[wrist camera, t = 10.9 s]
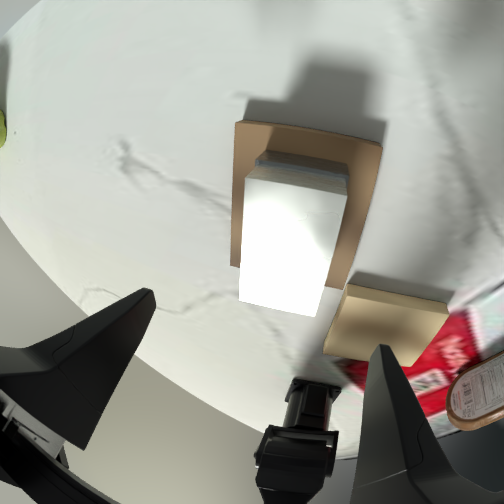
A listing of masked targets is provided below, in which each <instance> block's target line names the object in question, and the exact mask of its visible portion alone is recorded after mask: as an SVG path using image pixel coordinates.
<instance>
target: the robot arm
mask: <svg viewBox="0 0 504 504" xmlns="http://www.w3.org/2000/svg"><path fill="white" fill-rule="evenodd" d="M155 309H156V301H155V297H154V292H153V291H152V290H151V289H148V288H141V289H139V290H138V291H136V292H134V293H132V294H130V295H128V296H126V297H125V298H123V299H121V300H119V301H117V302H115V303H113V304H112V305H110V306H108V307H106V308H104V309H102V310H101V311H99V312H97V313H95V314H93V315H91V316H90V317H88V318H86V319H84V320H83V321H81V322H79V323H77V324H76V325H73V326H71V327H70V328H68V329H66V330H64V331H62V332H60V333H58V334H56V335H54V336H52V337H50V338H48V339H45V340H43V341H41V342H39V343H36V344H34V345H32V346H29V347H26V348H10V347H3V346H0V480H1V481H3V482H6V483H8V484H11V485H13V486H16V487H19V488H21V489H23V491H24V492H26V494H28V495H29V496H30V497H31V498H32V499H33V500H34V501H35V502H36V503H37V504H120V503H118V502H116V501H115V500H113V499H111V498H110V497H108V496H106V495H104V494H103V493H101V492H100V491H98V490H97V489H95V488H93V487H92V486H91V485H89V484H88V483H86V482H85V481H83V480H82V479H80V478H79V477H78V476H76V475H75V474H73V473H72V472H71V471H69V470H68V469H69V466H68V462H67V458H66V454H65V450H64V446H63V444H64V442H65V441H66V440H67V441H68V442H70V443H71V444H73V445H75V446H77V447H78V448H80V449H81V450H83V451H84V450H85V448H86V446H87V444H88V442H89V440H90V438H91V436H92V434H93V432H94V430H95V428H96V425H97V424H98V422H99V419H100V418H101V416H102V413H103V411H104V409H105V407H106V405H107V404H108V402H109V400H110V398H111V396H112V394H113V392H114V390H115V388H116V386H117V384H118V382H119V381H120V379H121V377H122V375H123V373H124V371H125V369H126V367H127V366H128V364H129V362H130V360H131V358H132V356H133V355H134V353H135V351H136V350H137V348H138V346H139V344H140V342H141V341H142V339H143V336H144V334H145V332H146V330H147V327H148V325H149V323H150V320H151V318H152V316H153V314H154V311H155ZM341 390H342V389H341V388H340V387H335V386H329V385H323V384H317V383H312V382H307V381H301V380H296V379H294V380H292V383H291V385H290V388H289V390H288V392H287V395H286V397H285V402H288V407H287V411H286V415H285V419H284V423H283V427H279V426H274V425H270V424H269V426H268V428H266V430H265V433H264V436H263V438H262V441H261V443H260V445H259V446H258V448H257V450H256V452H255V453H254V458H255V459H256V468H257V469H258V472H257V476H256V479H255V480H256V484H257V487H258V488H259V490H260V493H261V495H262V498H263V501H264V504H308V503H309V502H310V501H311V500H312V499H313V498H314V497H315V496H316V495H317V494H318V493H319V492H320V491H321V489H322V487H323V483H324V479H325V477H331V475H332V471H333V467H334V462H335V456H336V450H337V442H338V435H339V431H328V427H329V421H330V414H331V407H332V404H333V402H334V401H335V400H336V398H337V397H338V396H339V394H340V393H341ZM326 445H331V447H327V446H326ZM350 504H504V490H503V491H501V492H498V493H493V492H490V491H487V490H485V489H484V488H482V487H480V486H478V485H476V484H474V483H472V482H471V481H469V480H467V479H465V478H464V477H462V476H460V475H459V474H458V473H457V472H456V471H455V470H454V469H453V467H452V466H451V464H450V462H449V460H448V459H447V457H446V455H445V453H444V451H443V450H442V448H441V446H440V444H439V442H438V441H437V439H436V437H435V435H434V433H433V431H432V429H431V427H430V425H429V423H428V420H427V418H425V414H424V412H423V410H422V408H421V406H420V403H419V401H418V399H417V397H416V395H415V393H414V391H413V389H412V387H411V385H410V383H409V381H408V379H407V377H406V375H405V374H404V372H403V370H402V368H401V366H400V364H399V362H398V360H397V358H396V357H395V355H394V353H393V351H392V349H391V347H390V346H389V345H387V344H378V345H377V347H376V349H375V350H374V352H373V353H372V355H371V357H370V360H369V366H368V373H367V379H366V386H365V392H364V400H363V414H362V425H361V435H360V444H359V452H358V459H357V467H356V473H355V479H354V484H353V490H352V495H351V499H350Z"/></svg>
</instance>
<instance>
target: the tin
mask: <svg viewBox="0 0 504 504" xmlns="http://www.w3.org/2000/svg"><path fill="white" fill-rule="evenodd" d="M446 411H447V416H448V418H449V420H450V422H451V423H452V425H453V426H455V427H456V428H458V429H461V430H475V429H478V428H480V427H482V426H485V425H487V424H490V423H492V422H494V421H496V420H499V419H501V418H503V417H504V351H502V352H500V353H498V354H496V355H494V356H493V357H491V358H489V359H487V360H485V361H483V362H480V363H478V364H476V365H474V366H472V367H470V368H468V369H466V370H464V371H463V372H462V373H460V374H459V375H458V376H457V377H456V378H455V380H454V381H453V382H452V384H451V386H450V387H449V390H448V392H447V396H446Z"/></svg>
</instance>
